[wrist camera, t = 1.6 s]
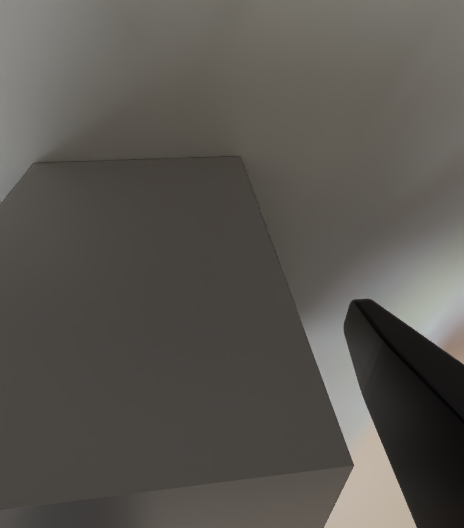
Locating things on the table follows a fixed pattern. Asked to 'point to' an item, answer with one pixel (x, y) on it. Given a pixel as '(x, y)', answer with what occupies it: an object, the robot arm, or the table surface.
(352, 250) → the table surface
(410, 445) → the robot arm
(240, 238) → the grey ice pop
